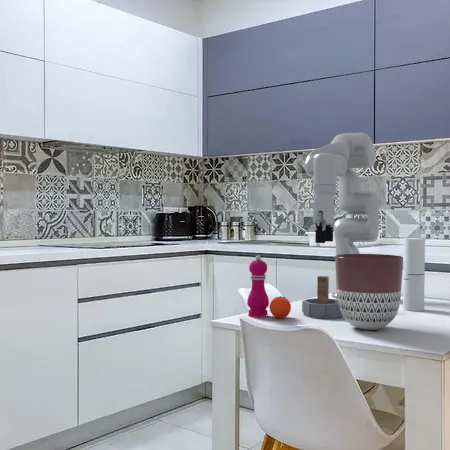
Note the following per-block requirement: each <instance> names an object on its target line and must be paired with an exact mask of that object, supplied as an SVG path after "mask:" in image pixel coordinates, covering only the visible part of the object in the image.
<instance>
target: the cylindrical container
mask: <svg viewBox="0 0 450 450" xmlns="http://www.w3.org/2000/svg"><path fill="white" fill-rule="evenodd" d="M425 263H426V238H423V237H422V238H420V237H418V238H417V237H404V238H403V272H402V283H403V284H402V310H404V311H407V312H408V311H409V312H423V311H425V284H426V283H425V282H426V281H425V276H426V275H425V272H426V271H425V269H426V267H425V266H426V264H425Z"/></svg>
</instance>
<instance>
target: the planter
mask: <svg viewBox="0 0 450 450" xmlns="http://www.w3.org/2000/svg"><path fill="white" fill-rule="evenodd" d="M403 258H404V256H401V255H395V254H394V255H393V254H382V253H360V254H341V255H336V254H335V256H334V259H335V260H334V261H335V262H334V263H335V288H336V287H337V297H336V299H337V301H338V306H339V309H340V312H341V314H342V317H343V319H345V321H346V322H347V323H349V325H351V326H353V327H354V328H357V329H359V330H366V331H375V330H381V329H383V328H386V326H388V325H390V324H391V323H392V321H394V319H395V318H396V317H397V314H398V312H399V309H400V305H401V297H402V288H403V284H402V283H403Z"/></svg>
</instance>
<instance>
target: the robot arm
mask: <svg viewBox="0 0 450 450" xmlns="http://www.w3.org/2000/svg"><path fill="white" fill-rule="evenodd" d="M376 155H377V154H376V150H375V147H374V144H373V141H372V139H371V137H370V136H369V134H367V133H366V132H348V133H347V132H345V133H344V132H343V133H340V134H337V135H335V137H334V138H333V139H332V141H331V142H330V143H328V144H325V145H324V146H320V147H317V148H315V149H313V150H312V151H311V152H309V154H308V155H307V156H306V159H305V162H304V170H305V173H306V175H307V176H309V177H311V178H313V188H312V189H313V193H312V195H313V196H314V199H313V212H312V224H313V225H315V229H314V230H315V233H314V235H315V243H316V244H325V243H326V242H330V243H331V242H334V241H335V256H336V255H341V254H361V253H360V249H359V248H358V247H357V246H356V245H355V243H373V242H376V241H377V240H378V237H379V231H380V230H379V228H380V227H379V226H380V225H379V224H380V223H379V221H380V202H379V201H380V200H379V196H378V194H377V193H376V192H374V191H368V190H367V191H365V190H361V178H360V177H359V175H358V174H357V172H356V171H355V169H365V168H366V169H367V168H372V167H373V166H374V165H375V163H376V157H377V156H376ZM337 178H338V203H337V204H338V210H339V213H341V214H342V215H348V216H351V215H352V216H366V217H365V218H363V217H362V218H361V217H343V218H340V219H337V220H336V221H335V197H334V196H336V195H337ZM331 296H332V297H333V298H337V287H336V286H335V291H333V292H331Z"/></svg>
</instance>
